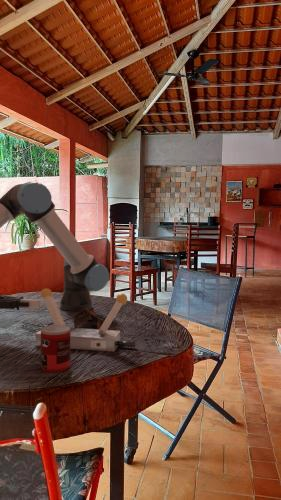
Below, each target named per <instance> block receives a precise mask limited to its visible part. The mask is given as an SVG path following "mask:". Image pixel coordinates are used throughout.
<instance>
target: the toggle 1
mask: <svg viewBox="0 0 281 500" xmlns="http://www.w3.org/2000/svg"><path fill="white" fill-rule="evenodd" d="M40 297H41V298H42V299H43V302H44V304H45V306H46V308H47V310H48V314H49V315H50V317H51V319H52V322H53V325H65V326H67V325H66V323H65V320H64V319H63V316H62V314H61V311H60V310H59V307H58V305H57V302H56V300H55V298H54V296H53V291H52V290H51V289H50V288H46V287H45V288H44V289H42V290H41V291H40Z"/></svg>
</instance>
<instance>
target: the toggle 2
mask: <svg viewBox="0 0 281 500" xmlns="http://www.w3.org/2000/svg"><path fill="white" fill-rule="evenodd" d="M115 300H116V301H115V303H114V304H113V306H112V307H111V309H110V311H109V313H108V314H107V317H106V318H105V319H104V321H103V323H102V324H101V325H100V328H99V329H98V330H99V335H102V334H104V333H105V332H106V331H107V330H109V328H110V326H111V324H112V322H113V320H114V319H115V317H116V316H117V314H118V312H119V311H120V309H121V308H122V306H123V305H125V304H126V303H127V302H128V297H127V295H126V294H125V293H119V294H117V295H116V297H115Z"/></svg>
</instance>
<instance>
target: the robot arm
mask: <svg viewBox="0 0 281 500" xmlns="http://www.w3.org/2000/svg"><path fill="white" fill-rule="evenodd" d="M55 209H56V204H55V203H54V202H53V201H52V194H51V191H50V190H49V188H48V187H47V186H46V185H44V184H42V183H40V182H36V181H27V182H25V183H19V184H15V185H14V186H12V187H11V188H9V190H7V192H5V193H4V194H3V195H2V196H1V197H0V229H1V228H2V227H4V226H5V224H7V223H8V222H9V221H14V220H15V219H16V218H17V217H19V216H20V215H22V214H23V215H24V216H26V218H27V219H28V221H29V222H30V223H31V224H36V225H37V226H38V227H39V229H40V230H41V232H43V233H44V235H45V236H46V237H47V238H48V240H49V241H50V242H51V243H52V245H53V246H54V247H55V248H56V250H57V251H58V252H59V253H60V255H61V256H62V257H63V258H64V262H63V293H62V296H61V299H60V301H59V302H60V303H59V308H60V310H64V311H68V312H70V311H71V312H79V311H81V310H83V309H86V308H88V309H93V308H94V307H93V306H94V305H93V304H94V302H93V299H92V296H91V294H90V293H91V292H90V291H92V292H98V291H101V290H102V289H104V288H105V287H106V286H107V284H108V282H109V276H110V273H109V270H108V267H106V266H105V265H103V264H101V263H99V262H98V261H97V259H96V258H95V256H93V255H92V254H88V253H87V252H86V251H85V249H84V248H83V246H81V244H80V243H79V241H78V240H77V239H76V238H75V236H74V235H73V233H72V231H70V230H69V228H68V227H67V225H66V224H65V222H63V220H62V218H60V217H59V215H58V214H57V212H56V210H55ZM0 309H1V310H15V309H16V311H20V309H35V310H36V309H38V310H39V309H41V299H34V298H32V299H29V298H28V299H27V298H24V296H15V295H7V294H2V295H0Z"/></svg>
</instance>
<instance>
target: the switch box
mask: <svg viewBox="0 0 281 500" xmlns="http://www.w3.org/2000/svg"><path fill="white" fill-rule="evenodd" d="M35 346H36V347H41V330H39V331H37V332H36V333H35ZM118 347H128V348H136V347H137V342H136V341H124V340H121V330H113V329H112V330H111V329H107V331H106V332H105V333H104V334H102V335H99V329H98V328H97V329H94V328H83V327H82V328H81V327H80V328H78V327H70V349H71V350H72V349H74V350H89V351H98V352H99V351H100V352H101V351H102V352H112V353H113V352H115V351H116V350H117V349H118Z"/></svg>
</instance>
